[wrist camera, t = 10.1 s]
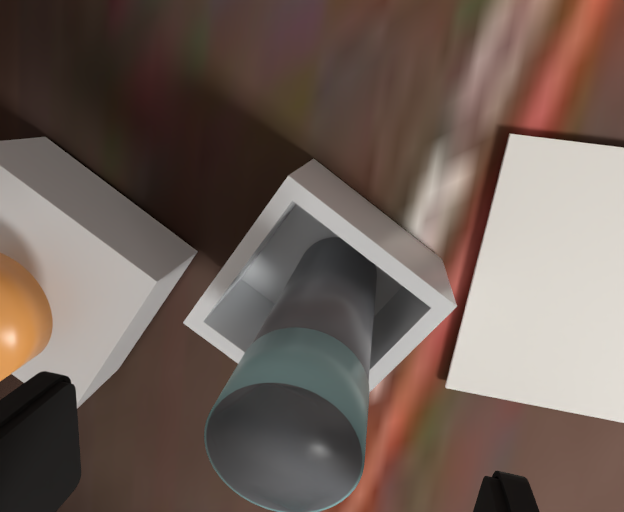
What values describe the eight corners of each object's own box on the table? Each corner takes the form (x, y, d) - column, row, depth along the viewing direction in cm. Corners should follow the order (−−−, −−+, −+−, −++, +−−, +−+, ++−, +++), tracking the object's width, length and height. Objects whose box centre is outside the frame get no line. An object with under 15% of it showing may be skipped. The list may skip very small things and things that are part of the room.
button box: (197, 251, 22) (157, 281, 18) (118, 368, 25) (70, 415, 21) (45, 136, 21) (-30, 143, 17) (-16, 272, 24) (-90, 302, 21)
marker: (394, 268, 20) (399, 446, 9) (346, 325, 21) (304, 538, 11) (326, 220, 19) (256, 349, 9) (282, 281, 21) (177, 454, 11)
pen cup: (441, 258, 20) (456, 306, 15) (343, 363, 22) (329, 431, 18) (313, 158, 19) (288, 175, 15) (227, 276, 22) (182, 322, 17)
